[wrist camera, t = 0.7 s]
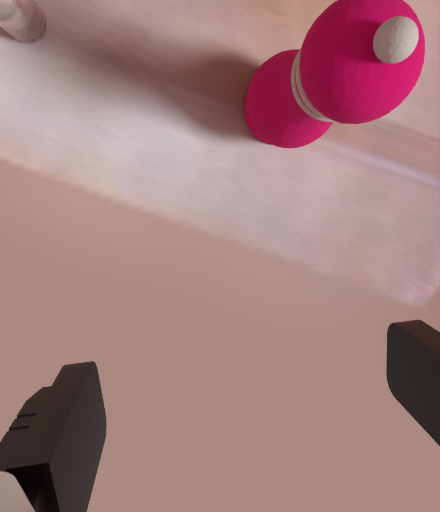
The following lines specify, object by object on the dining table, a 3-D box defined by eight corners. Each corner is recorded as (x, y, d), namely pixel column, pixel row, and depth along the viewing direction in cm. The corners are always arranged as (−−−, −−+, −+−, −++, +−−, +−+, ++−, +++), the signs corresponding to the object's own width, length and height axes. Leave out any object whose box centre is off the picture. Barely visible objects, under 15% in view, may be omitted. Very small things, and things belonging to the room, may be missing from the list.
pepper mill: (242, 155, 36) (326, 136, 16) (233, 70, 34) (315, -65, 14) (318, 146, 36) (486, 117, 17) (313, 62, 35) (493, -77, 15)
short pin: (7, -7, 31) (-41, -57, 24) (48, 6, 31) (14, -39, 24) (1, 36, 31) (-47, -1, 24) (42, 48, 32) (7, 15, 25)
